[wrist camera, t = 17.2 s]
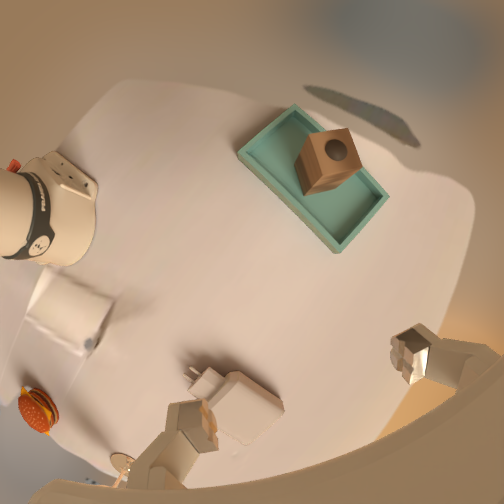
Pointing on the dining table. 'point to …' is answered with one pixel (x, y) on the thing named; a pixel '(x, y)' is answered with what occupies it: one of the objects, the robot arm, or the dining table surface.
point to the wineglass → (120, 466)
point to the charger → (237, 403)
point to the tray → (289, 190)
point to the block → (326, 161)
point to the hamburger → (38, 410)
